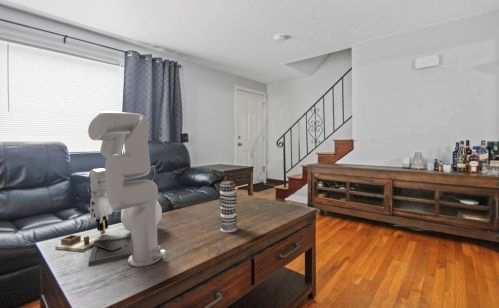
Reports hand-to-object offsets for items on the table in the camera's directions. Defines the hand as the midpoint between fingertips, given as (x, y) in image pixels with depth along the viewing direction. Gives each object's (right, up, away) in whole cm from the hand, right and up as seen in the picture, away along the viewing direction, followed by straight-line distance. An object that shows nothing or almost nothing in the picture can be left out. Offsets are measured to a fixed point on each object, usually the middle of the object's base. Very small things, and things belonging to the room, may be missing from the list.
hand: (102, 229), depth 127 cm
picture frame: (+15, -4, -18) cm, 23 cm away
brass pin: (0, -2, 0) cm, 2 cm away
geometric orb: (+19, -3, +3) cm, 19 cm away
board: (-4, -4, -12) cm, 13 cm away
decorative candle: (+63, -2, +5) cm, 63 cm away
